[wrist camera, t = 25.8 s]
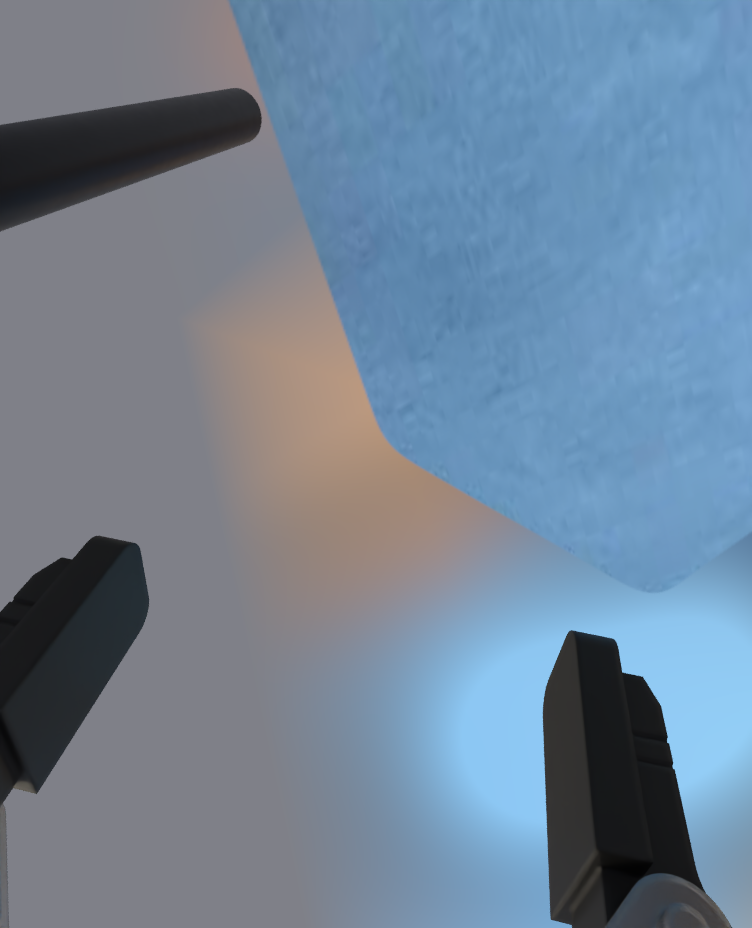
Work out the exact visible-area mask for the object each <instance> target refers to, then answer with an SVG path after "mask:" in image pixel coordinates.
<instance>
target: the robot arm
mask: <svg viewBox="0 0 752 928" xmlns="http://www.w3.org/2000/svg"><path fill="white" fill-rule="evenodd" d="M148 607H149V596H148V591H147V585H146V579H145V573H144V568H143V563H142V557H141V551H140V548H139V546H138V545H137V544H136V543H131V542H126V541H122V540H117V539H112V538H107V537H102V536H95V537H93V538H91V539H90V540H89V541H88V542H87V543H86V544H85V545H84V547H83V548H82V549H81V550H80V551H79V552H78V554H77V555H76V556H75V557H74V558H73V559H72V560H71V559H66V558H60V559H58V560H57V561H55V562H54V563H52V564H50V565H49V566H47V567H46V568H44V569H42V570H41V571H39V572H38V573H36V574H35V575H33V576H32V578H30V580H29V581H28V582H27V583H26V584H25V585H24V586H23V588H21V590H20V591H19V592H18V593H17V594H16V595H15V596H14V600H13V601H12V602H9V603H8V604H7V605H6V606H5V607H4V609H3V610H2V611H1V612H0V928H9V915H8V914H9V912H8V880H7V879H8V876H7V842H6V841H7V838H6V812H5V807H4V805H3V802H4V800H5V799H6V797H7V796H8V794H9V793H10V792H11V790H12V789H13V788H15V789H19V790H23V791H28V792H31V793H36V794H37V793H38V791H39V790H40V788H41V786H42V785H43V783H44V782H45V780H46V779H47V777H48V775H49V774H50V772H51V771H52V769H53V768H54V766H55V765H56V763H57V761H58V760H59V758H60V757H61V755H62V754H63V752H64V750H65V749H66V747H67V746H68V744H69V743H70V741H71V739H72V738H73V736H74V735H75V733H76V731H77V730H78V728H79V727H80V725H81V724H82V722H83V720H84V719H85V717H86V716H87V714H88V713H89V711H90V709H91V708H92V706H93V705H94V703H95V702H96V700H97V698H98V697H99V695H100V694H101V692H102V691H103V689H104V687H105V686H106V684H107V683H108V681H109V679H110V678H111V676H112V675H113V673H114V672H115V670H116V668H117V667H118V665H119V664H120V662H121V661H122V659H123V657H124V656H125V654H126V653H127V651H128V649H129V648H130V646H131V645H132V643H133V642H134V640H135V639H136V637H137V635H138V634H139V632H140V630H141V629H142V627H143V625H144V622H145V619H146V616H147V612H148ZM543 732H544V757H545V784H546V811H547V835H548V836H547V837H548V862H549V889H550V914H551V920H555V921H559V922H562V923H566V924H570V925H572V928H732V927H731V925H730V923H729V921H728V920H727V919H726V917H725V915H724V914H723V912H722V911H721V910H720V908H719V907H718V906H717V905H716V903H715V902H714V901H713V900H712V899H711V898H710V897H709V896H708V895H707V894H706V893H705V891H704V889H703V887H702V884H701V882H700V880H699V877H698V874H697V870H696V866H695V862H694V857H693V853H692V848H691V843H690V839H689V834H688V829H687V825H686V820H685V815H684V811H683V806H682V801H681V797H680V792H679V788H678V783H677V778H676V774H675V770H674V769H673V767H672V765H673V760H672V755H671V751H670V746H669V743H667V738H668V736H667V732H666V727H665V723H664V718H663V713H662V709H661V705H660V704H659V702H658V701H657V699H656V697H655V696H654V695H653V693H652V691H651V689H650V688H649V686H648V685H647V683H646V681H645V680H644V678H643V677H641V676H636V675H631V674H626V673H622V668H621V663H620V656H619V650H618V646H617V643H616V641H615V640H614V639H612V638H607V637H602V636H597V635H591V634H587V633H582V632H577V631H572V630H571V631H569V632H568V634H567V636H566V638H565V641H564V643H563V646H562V648H561V650H560V653H559V655H558V658H557V660H556V663H555V665H554V668H553V670H552V672H551V675H550V677H549V680H548V683H547V686H546V691H545V696H544V704H543Z"/></svg>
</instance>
